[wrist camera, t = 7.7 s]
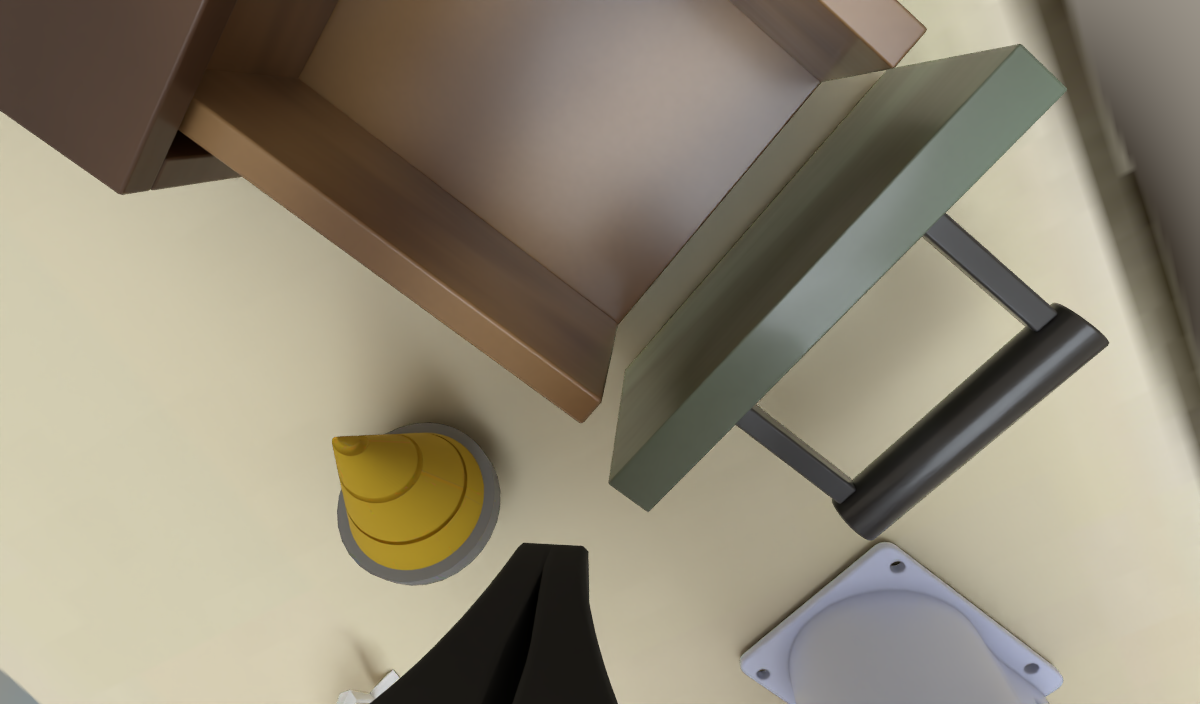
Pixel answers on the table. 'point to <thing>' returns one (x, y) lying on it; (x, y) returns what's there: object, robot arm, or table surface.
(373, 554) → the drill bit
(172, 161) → the cabinet
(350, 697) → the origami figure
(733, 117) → the drawer
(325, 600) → the table surface
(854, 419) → the table surface
